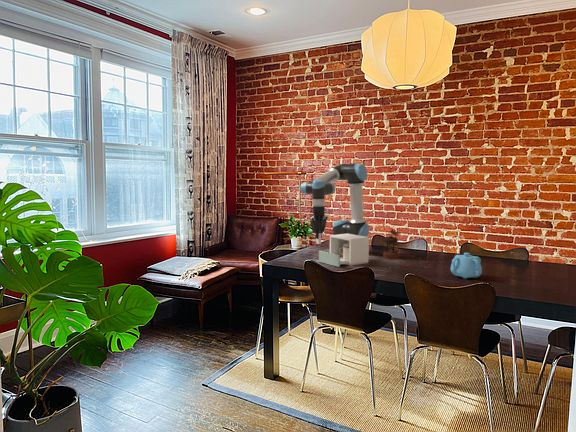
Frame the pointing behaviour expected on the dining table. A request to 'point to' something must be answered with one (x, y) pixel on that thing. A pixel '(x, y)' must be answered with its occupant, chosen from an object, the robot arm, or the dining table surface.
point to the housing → (351, 247)
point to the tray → (332, 258)
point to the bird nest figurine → (390, 241)
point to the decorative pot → (466, 266)
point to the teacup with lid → (345, 251)
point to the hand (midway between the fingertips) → (318, 243)
